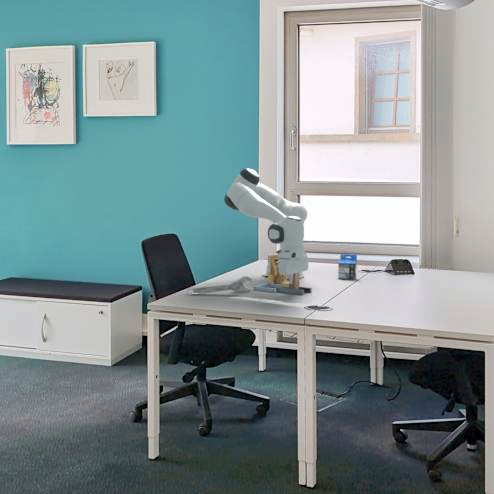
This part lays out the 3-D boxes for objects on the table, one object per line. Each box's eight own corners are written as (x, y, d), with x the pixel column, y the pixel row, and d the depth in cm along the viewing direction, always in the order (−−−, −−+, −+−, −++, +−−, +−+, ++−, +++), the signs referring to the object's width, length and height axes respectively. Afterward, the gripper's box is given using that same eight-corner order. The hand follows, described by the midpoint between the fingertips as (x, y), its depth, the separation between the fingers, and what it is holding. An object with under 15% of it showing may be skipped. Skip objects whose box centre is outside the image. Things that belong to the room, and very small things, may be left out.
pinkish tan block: (289, 290, 321) (288, 268, 320) (294, 289, 325) (294, 267, 324) (294, 291, 320) (294, 269, 319) (299, 289, 323) (299, 268, 322)
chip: (281, 291, 324) (281, 282, 323) (286, 290, 327) (286, 281, 326) (289, 292, 321) (289, 283, 321) (293, 290, 325) (293, 282, 324)
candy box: (284, 284, 350) (284, 253, 348) (287, 286, 346) (287, 254, 344) (267, 286, 347) (267, 254, 345) (270, 287, 343) (270, 255, 341)
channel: (274, 295, 322) (274, 287, 322) (286, 292, 331) (286, 284, 330) (301, 298, 314) (301, 290, 314) (312, 295, 323) (312, 287, 322)
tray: (253, 293, 328) (253, 286, 328) (267, 289, 338) (267, 283, 337) (273, 295, 322) (273, 289, 321) (287, 291, 331) (287, 285, 331)
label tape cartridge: (337, 278, 369) (338, 254, 367) (339, 277, 372) (340, 253, 371) (354, 279, 366) (355, 255, 364) (356, 278, 369) (357, 254, 368)
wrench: (188, 300, 326) (253, 292, 326) (188, 301, 324) (253, 293, 324) (186, 283, 325) (251, 275, 325) (185, 284, 324) (251, 276, 323)
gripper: (299, 249, 331) (299, 279, 332) (276, 254, 314) (276, 285, 316) (311, 250, 327) (311, 280, 329) (288, 255, 310) (288, 286, 312)
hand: (294, 282), depth 322 cm, fingers closed on pinkish tan block, 3 cm apart
